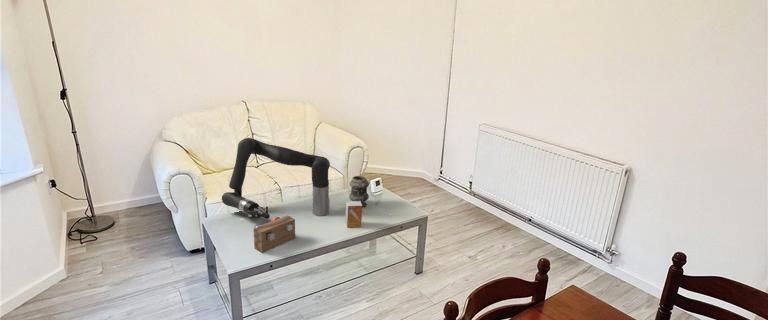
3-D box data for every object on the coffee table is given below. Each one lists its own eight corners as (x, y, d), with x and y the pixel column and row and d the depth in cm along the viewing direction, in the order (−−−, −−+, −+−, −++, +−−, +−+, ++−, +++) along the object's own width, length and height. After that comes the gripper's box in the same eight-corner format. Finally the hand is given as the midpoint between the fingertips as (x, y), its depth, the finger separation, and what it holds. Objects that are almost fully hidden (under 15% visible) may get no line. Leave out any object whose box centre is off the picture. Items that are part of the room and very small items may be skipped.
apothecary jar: (359, 199, 266) (361, 173, 261) (372, 206, 258) (373, 178, 253) (344, 204, 258) (345, 176, 253) (357, 210, 250) (358, 182, 245)
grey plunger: (253, 234, 204) (253, 226, 202) (261, 231, 207) (260, 223, 206) (268, 243, 197) (268, 234, 195) (276, 240, 200) (276, 231, 199)
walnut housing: (254, 248, 202) (253, 228, 199) (287, 234, 218) (287, 215, 214) (262, 253, 199) (261, 232, 196) (295, 238, 214) (294, 219, 211)
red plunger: (271, 225, 214) (271, 217, 212) (278, 222, 217) (278, 215, 216) (287, 233, 207) (286, 225, 205) (294, 230, 210) (293, 222, 209)
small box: (347, 227, 228) (347, 206, 224) (345, 222, 234) (346, 201, 230) (361, 227, 230) (362, 205, 226) (359, 222, 236) (360, 200, 232)
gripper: (237, 204, 222) (257, 214, 212) (258, 197, 232) (278, 206, 222) (238, 217, 224) (258, 227, 214) (259, 209, 234) (279, 219, 224)
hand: (268, 217), depth 218 cm, fingers closed
